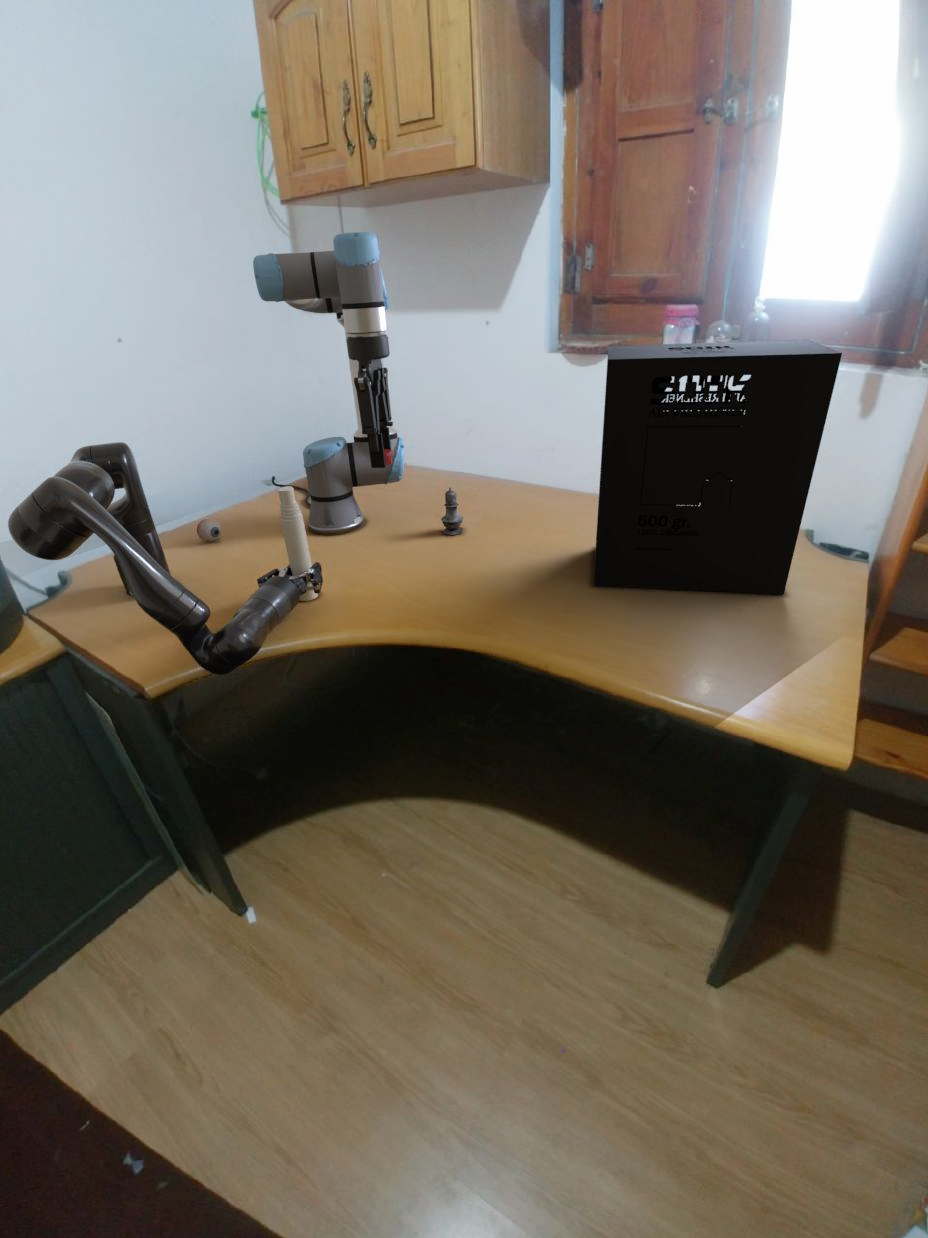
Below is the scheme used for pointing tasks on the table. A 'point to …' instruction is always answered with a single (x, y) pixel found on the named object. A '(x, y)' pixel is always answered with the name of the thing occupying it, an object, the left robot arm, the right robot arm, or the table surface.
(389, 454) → the cap
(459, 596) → the table surface
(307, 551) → the bottle
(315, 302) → the right robot arm
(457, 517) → the salt shaker
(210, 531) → the eyeball
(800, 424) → the cardboard box
